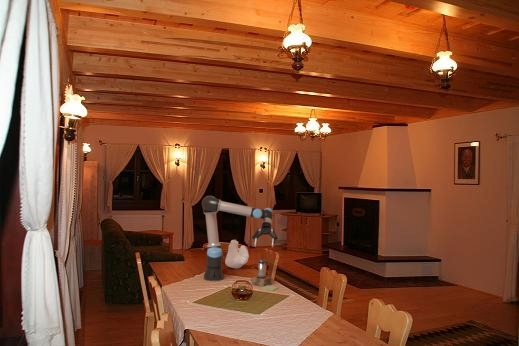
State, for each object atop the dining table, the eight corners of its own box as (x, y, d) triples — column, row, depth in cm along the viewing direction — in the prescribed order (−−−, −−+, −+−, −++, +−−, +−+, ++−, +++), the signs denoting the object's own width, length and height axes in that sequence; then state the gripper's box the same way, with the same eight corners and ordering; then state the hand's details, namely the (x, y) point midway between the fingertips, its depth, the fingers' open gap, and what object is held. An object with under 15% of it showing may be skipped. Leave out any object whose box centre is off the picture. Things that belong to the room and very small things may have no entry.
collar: (251, 284, 302) (251, 277, 303) (258, 282, 312) (258, 275, 312) (264, 286, 297) (264, 279, 297) (270, 284, 307) (271, 277, 307)
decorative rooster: (221, 266, 370) (223, 239, 371) (236, 265, 379) (237, 238, 380) (236, 271, 349) (237, 242, 351) (251, 270, 358) (252, 242, 360)
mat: (260, 288, 291) (260, 287, 291) (266, 286, 300) (267, 285, 300) (273, 290, 286) (273, 289, 286) (279, 288, 295) (279, 287, 295)
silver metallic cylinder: (254, 284, 303) (255, 260, 304) (259, 283, 309) (260, 259, 310) (262, 285, 300) (263, 261, 301) (267, 284, 306) (268, 260, 307)
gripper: (282, 227, 331) (280, 249, 315) (252, 227, 335) (248, 248, 320) (281, 221, 325) (279, 243, 310) (250, 221, 330) (247, 242, 315)
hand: (263, 246), depth 315 cm, fingers open, 13 cm apart
